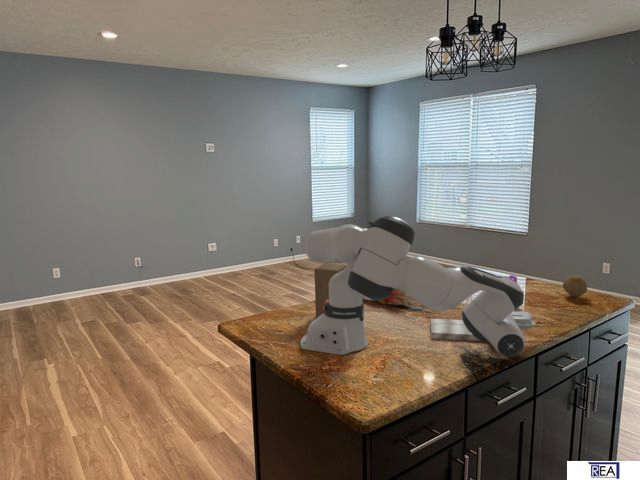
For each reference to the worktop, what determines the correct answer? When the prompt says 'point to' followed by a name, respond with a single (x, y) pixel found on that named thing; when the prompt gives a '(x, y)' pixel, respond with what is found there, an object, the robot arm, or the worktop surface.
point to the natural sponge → (575, 286)
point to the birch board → (450, 330)
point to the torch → (397, 298)
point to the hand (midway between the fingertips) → (493, 310)
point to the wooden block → (324, 283)
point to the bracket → (513, 278)
